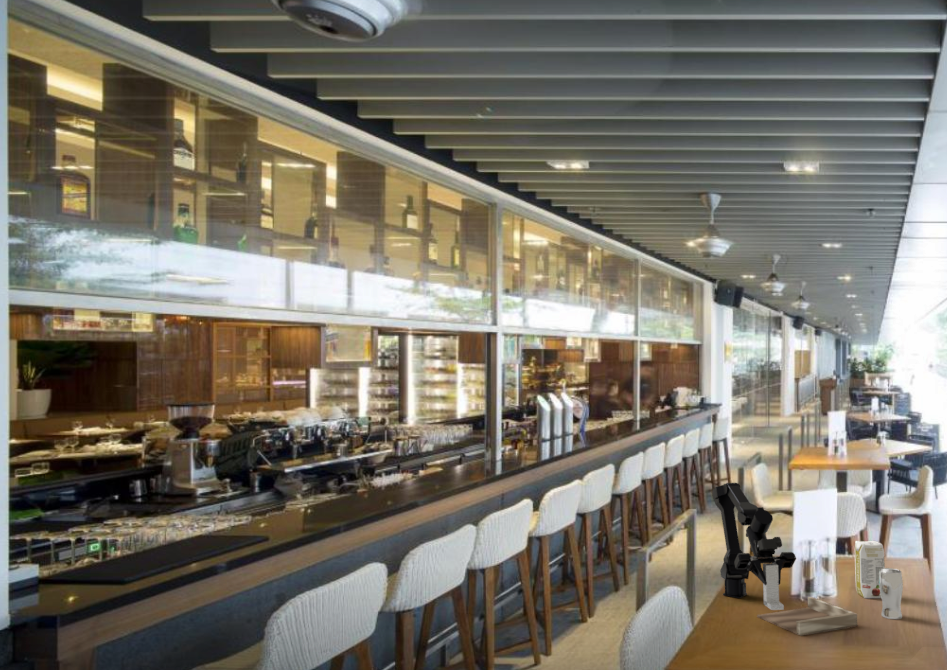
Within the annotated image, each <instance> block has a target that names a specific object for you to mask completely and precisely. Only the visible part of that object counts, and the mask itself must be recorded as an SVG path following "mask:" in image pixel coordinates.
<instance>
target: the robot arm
mask: <svg viewBox="0 0 947 670" xmlns="http://www.w3.org/2000/svg"><path fill="white" fill-rule="evenodd" d="M711 493H712V499H713V501H714V504H715V506H716V507H717V508H718V510H719V511H720V513H721V521H722V527H723V533H724V534H723V535H724V540H725V548H726V553H725V554H724V557H723V564H722V566H721V569H720V577H721V578H722V579H723V580H724V593H722V596H725V597H730V598H731V597H732V598H736V599H741V598H743V597H745V596H746V595H748V593H747V583H746V582H745V580H748V579H749V577H750V576H749V575H750V572H751V573H752V574H753V575H754V576H755V577H757V578H758V579H759V580H760V582H761V583H762V585H763V584H764V585H766V584H767V582H766V578H765V575H764V573H763V567H762V564H767V563H775V564H777V565H778V577H779V586H780V584H781V580H782V579H781V577H782V576H781V575H782V574H781V573H782V570H783V569H790V568H793V566H794V564H795V562H796V560H797V557H796V553H794V552H792V551H782V552H781V553H780V554H779V556H774V555H775V553H776V550H778V548H779V549H780V548H782V547H783V542H782V539H781V537H780V536H774V537H772V538H768V537H767V535H766V533H767V532H769V529H770V527H771V525H772V522H773V520H774V517H773V514H771V512H769V511H768V510H765V509H764V507H763V506H762V507H761V506H760V507H758V506H757V505H755V504H754V503H752V502H750V500H749V499H748V498H747V496H746V495H745V493H744V492H743V491H742V489H741V485H740V484H739V483H738V482H726V483H724V484H722V485H719V486H718V485H717V486H715V487H714V488H713V489H712V492H711ZM735 508H736V510H737V520H738V522H739V524H741V526H744V527H745V526H748V527H747V528H746V529H745V537H746V538H747V539H748V541H749V545H750V548H749V549H750V552H752V554H753V555H751V554H750V553H749V552H743V550H742V549H741V547H740V540H739V533H738V529H737V521H736V515H735Z"/></svg>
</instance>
